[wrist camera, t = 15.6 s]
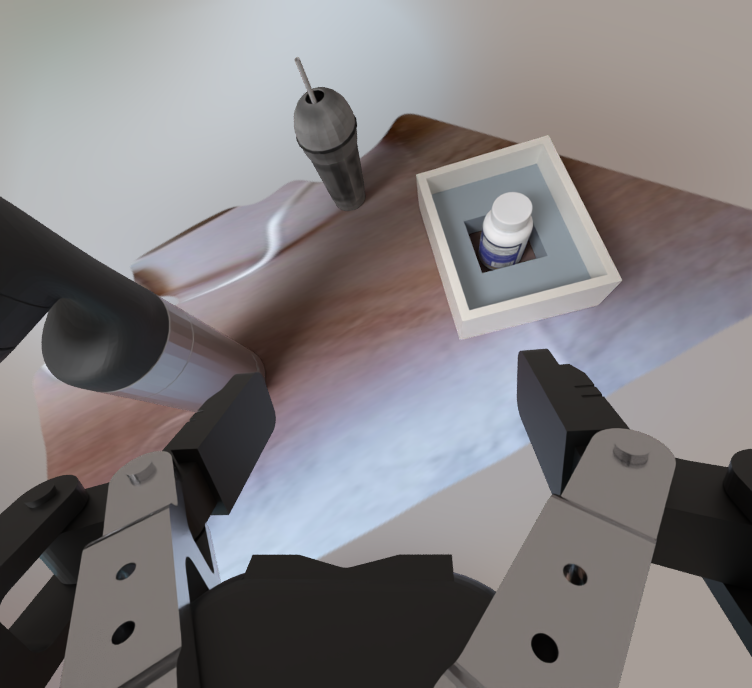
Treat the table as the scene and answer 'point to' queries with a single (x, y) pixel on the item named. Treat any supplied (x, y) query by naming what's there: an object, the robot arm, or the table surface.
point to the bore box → (548, 240)
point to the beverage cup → (330, 142)
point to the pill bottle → (506, 231)
